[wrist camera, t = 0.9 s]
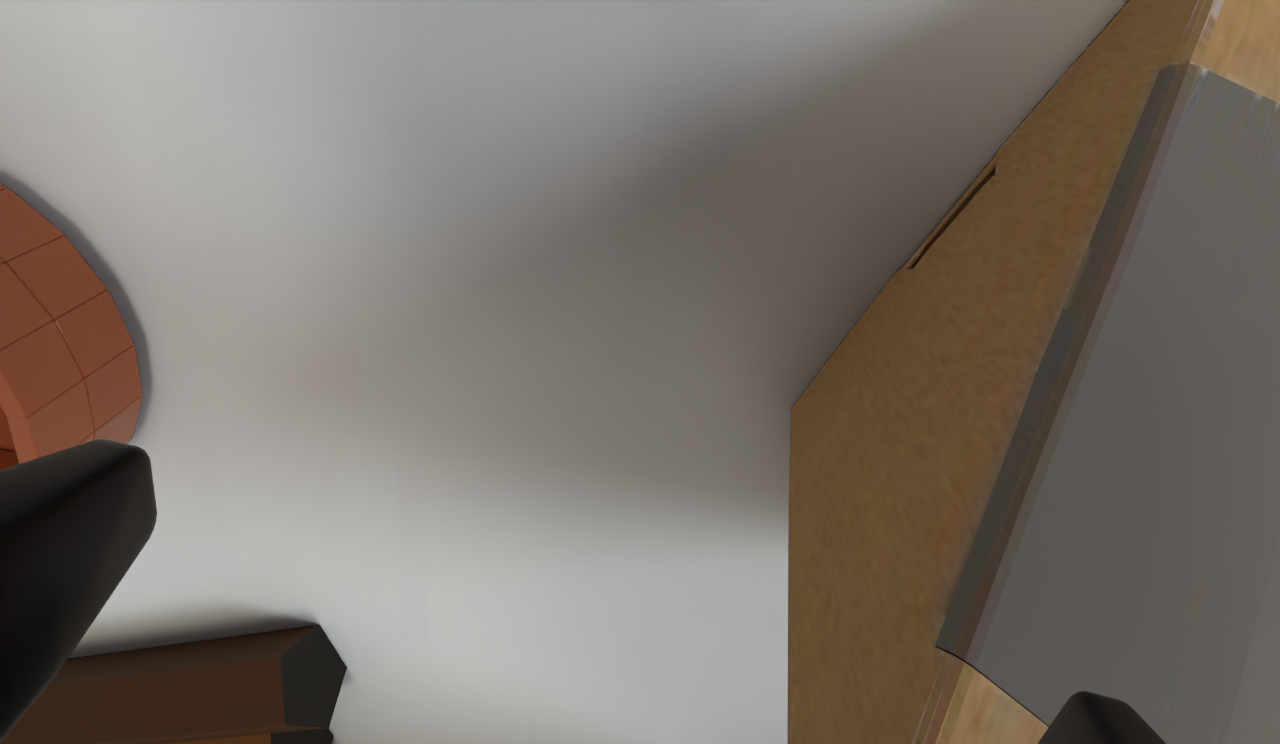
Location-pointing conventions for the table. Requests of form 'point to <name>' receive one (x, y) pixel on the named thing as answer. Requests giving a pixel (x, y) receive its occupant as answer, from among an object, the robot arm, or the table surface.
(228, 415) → the table surface
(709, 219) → the table surface
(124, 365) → the flower pot
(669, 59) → the table surface
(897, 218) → the table surface
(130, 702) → the pan flute
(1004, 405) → the sandwich container
